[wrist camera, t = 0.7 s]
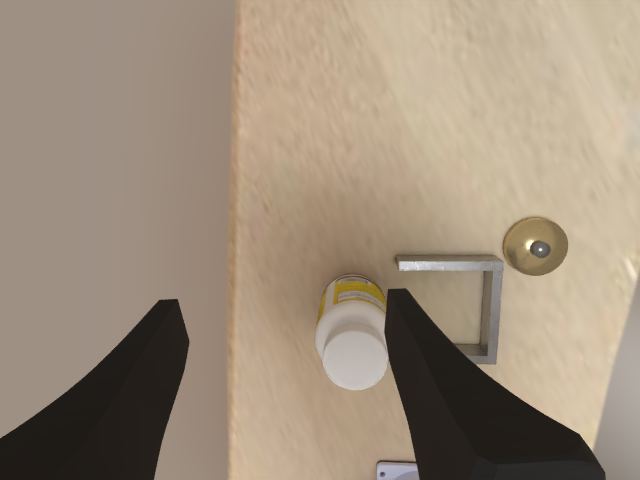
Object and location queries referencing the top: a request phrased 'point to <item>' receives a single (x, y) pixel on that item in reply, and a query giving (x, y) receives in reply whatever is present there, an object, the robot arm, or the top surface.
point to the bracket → (491, 295)
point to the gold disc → (535, 246)
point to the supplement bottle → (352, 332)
